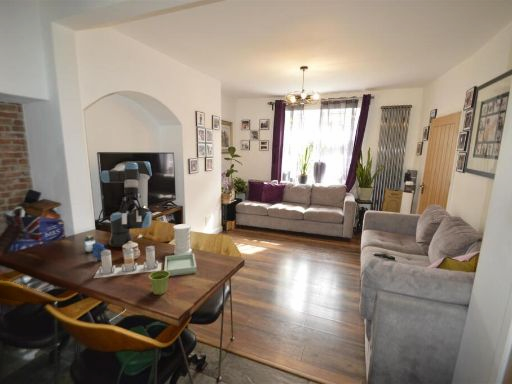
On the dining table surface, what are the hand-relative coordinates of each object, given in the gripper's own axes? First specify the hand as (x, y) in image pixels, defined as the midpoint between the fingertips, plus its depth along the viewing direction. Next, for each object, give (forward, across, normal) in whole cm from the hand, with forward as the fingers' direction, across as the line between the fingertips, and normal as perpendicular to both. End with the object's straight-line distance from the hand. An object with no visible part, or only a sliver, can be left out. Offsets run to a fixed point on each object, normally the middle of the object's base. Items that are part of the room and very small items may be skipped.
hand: (131, 223), depth 151 cm
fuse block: (+28, +3, -3) cm, 28 cm away
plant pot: (+36, +32, -7) cm, 49 cm away
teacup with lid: (+22, -10, +8) cm, 25 cm away
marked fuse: (+26, +3, -3) cm, 27 cm away
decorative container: (+20, +8, +32) cm, 39 cm away
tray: (+28, +22, +16) cm, 39 cm away
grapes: (+21, -25, -4) cm, 33 cm away
